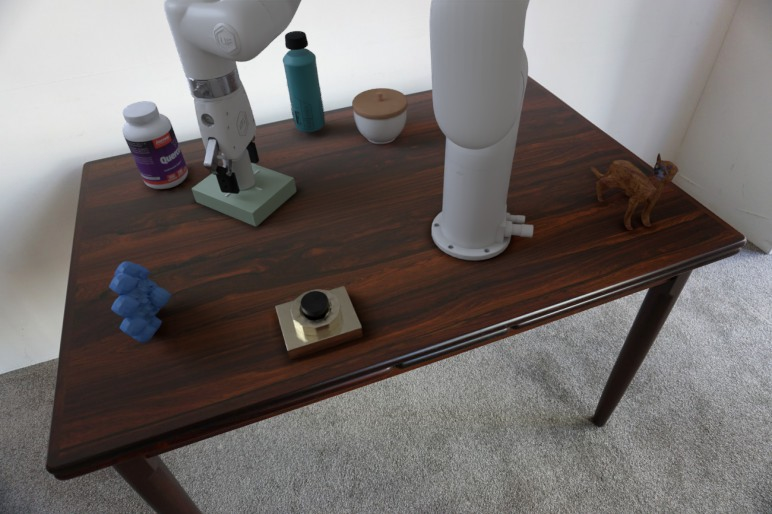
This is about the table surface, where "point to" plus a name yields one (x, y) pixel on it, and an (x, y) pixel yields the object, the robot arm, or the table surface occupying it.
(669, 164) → the cat figurine
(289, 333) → the button box
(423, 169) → the table surface
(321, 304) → the button
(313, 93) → the beverage bottle
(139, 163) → the pill bottle
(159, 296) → the blue lumpy lobed piece
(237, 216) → the dial panel
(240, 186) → the dial
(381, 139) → the trinket box
